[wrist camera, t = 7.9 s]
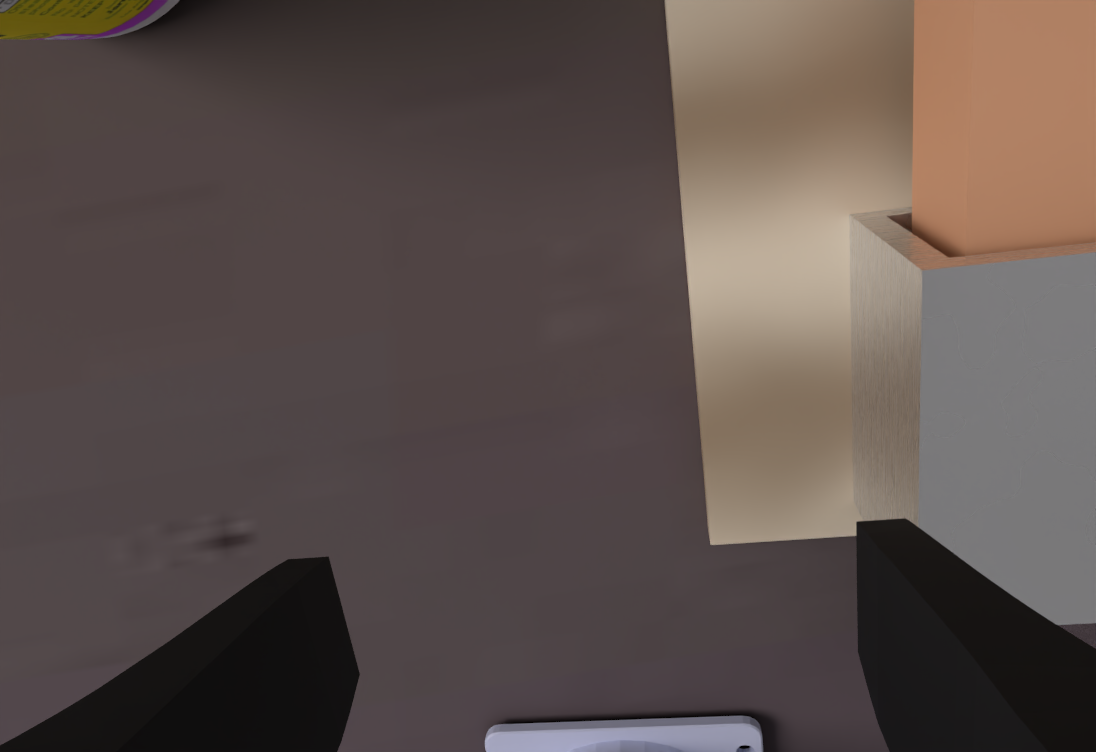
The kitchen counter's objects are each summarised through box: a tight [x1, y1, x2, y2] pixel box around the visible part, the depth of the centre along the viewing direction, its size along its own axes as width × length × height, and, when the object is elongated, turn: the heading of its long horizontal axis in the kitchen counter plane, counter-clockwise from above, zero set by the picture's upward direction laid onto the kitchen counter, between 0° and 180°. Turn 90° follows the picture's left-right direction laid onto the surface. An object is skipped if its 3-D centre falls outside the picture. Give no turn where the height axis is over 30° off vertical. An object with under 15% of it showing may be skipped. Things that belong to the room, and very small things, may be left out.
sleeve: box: [849, 207, 1096, 625], centre depth 17 cm, size 7×5×5 cm
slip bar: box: [912, 0, 1096, 258], centre depth 13 cm, size 12×3×6 cm, turn 8°
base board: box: [664, 0, 914, 545], centre depth 18 cm, size 19×12×1 cm, turn 8°
